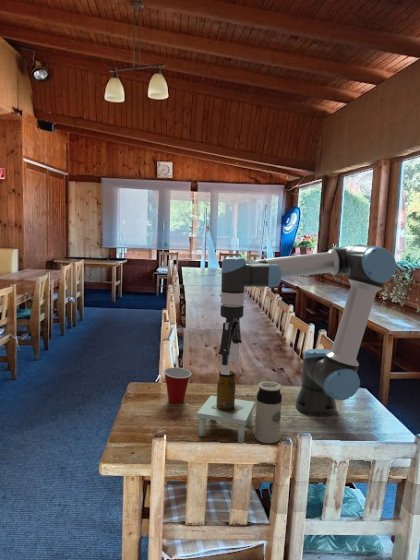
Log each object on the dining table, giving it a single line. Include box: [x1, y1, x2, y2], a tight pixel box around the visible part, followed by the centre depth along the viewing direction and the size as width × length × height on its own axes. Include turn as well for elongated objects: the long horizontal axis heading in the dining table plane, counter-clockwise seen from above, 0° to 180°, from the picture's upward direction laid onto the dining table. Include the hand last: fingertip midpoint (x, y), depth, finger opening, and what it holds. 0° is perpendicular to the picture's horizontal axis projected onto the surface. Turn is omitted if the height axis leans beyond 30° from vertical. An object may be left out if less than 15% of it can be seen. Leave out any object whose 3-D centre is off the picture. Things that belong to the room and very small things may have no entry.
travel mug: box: [254, 381, 283, 444], centre depth 145 cm, size 8×8×18 cm
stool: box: [196, 395, 256, 444], centre depth 150 cm, size 16×16×8 cm
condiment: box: [212, 370, 243, 414], centre depth 149 cm, size 7×8×12 cm
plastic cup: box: [163, 366, 192, 405], centre depth 173 cm, size 11×11×12 cm
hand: (230, 367), depth 148 cm, fingers open, 13 cm apart
